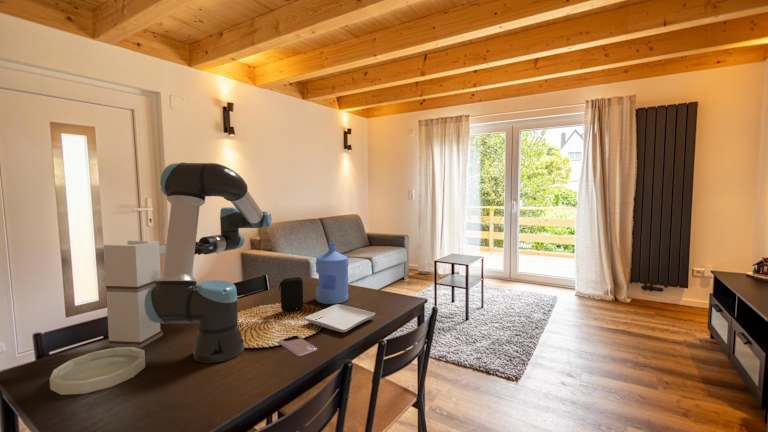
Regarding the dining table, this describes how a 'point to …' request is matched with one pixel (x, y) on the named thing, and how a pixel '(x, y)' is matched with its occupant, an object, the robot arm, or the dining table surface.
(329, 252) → the water jug
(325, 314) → the salad plate
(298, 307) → the black rounded block
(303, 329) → the dining table surface
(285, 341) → the mobile phone
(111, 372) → the round tray
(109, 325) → the tall seamed cream box
